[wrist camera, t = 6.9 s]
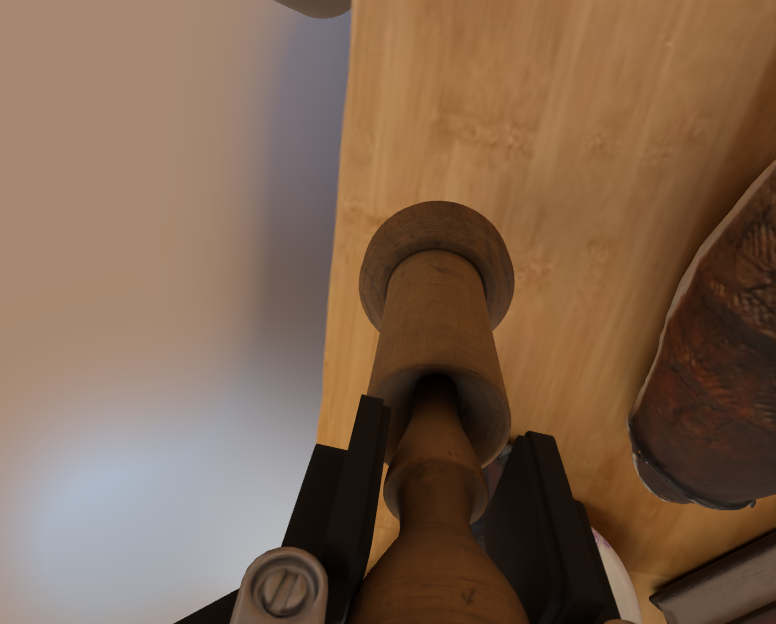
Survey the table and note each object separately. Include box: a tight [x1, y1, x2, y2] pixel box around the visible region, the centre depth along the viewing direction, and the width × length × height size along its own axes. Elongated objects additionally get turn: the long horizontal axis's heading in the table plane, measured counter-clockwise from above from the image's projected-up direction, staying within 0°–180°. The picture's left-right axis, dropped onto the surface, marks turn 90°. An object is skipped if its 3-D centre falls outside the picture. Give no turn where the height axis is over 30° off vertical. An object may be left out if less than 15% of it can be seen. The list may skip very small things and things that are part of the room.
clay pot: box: [625, 160, 776, 510], centre depth 33 cm, size 15×15×25 cm
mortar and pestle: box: [345, 201, 530, 624], centre depth 15 cm, size 7×6×18 cm
